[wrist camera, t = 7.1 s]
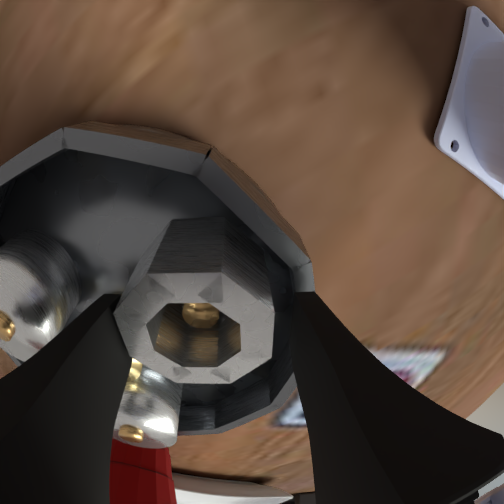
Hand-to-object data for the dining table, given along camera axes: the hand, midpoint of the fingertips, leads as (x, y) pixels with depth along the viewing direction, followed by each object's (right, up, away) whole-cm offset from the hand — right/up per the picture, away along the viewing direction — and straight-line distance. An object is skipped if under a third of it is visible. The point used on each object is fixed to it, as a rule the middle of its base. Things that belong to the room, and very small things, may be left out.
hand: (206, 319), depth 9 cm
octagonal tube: (0, +1, +2) cm, 2 cm away
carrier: (-4, 0, +4) cm, 6 cm away
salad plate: (-7, -31, +21) cm, 38 cm away
